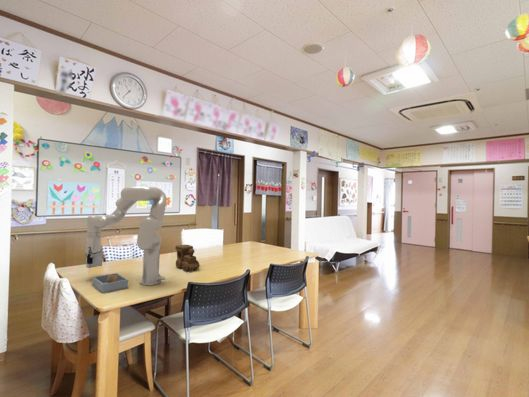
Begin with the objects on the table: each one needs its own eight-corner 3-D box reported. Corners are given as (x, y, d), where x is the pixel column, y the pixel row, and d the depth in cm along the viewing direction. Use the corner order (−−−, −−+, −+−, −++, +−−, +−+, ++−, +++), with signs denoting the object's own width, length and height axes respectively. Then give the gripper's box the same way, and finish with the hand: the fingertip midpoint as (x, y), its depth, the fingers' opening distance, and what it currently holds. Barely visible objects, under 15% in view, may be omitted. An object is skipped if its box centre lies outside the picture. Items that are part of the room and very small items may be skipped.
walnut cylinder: (118, 285, 163) (118, 274, 163) (116, 288, 158) (116, 276, 158) (109, 286, 162) (109, 274, 162) (106, 289, 157) (106, 277, 157)
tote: (92, 285, 164) (92, 277, 164) (116, 280, 174) (116, 272, 174) (102, 293, 152) (102, 284, 152) (127, 288, 162) (128, 279, 162)
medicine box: (99, 264, 181) (99, 251, 180) (102, 265, 178) (102, 252, 178) (85, 267, 174) (85, 253, 174) (88, 268, 172) (88, 254, 172)
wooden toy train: (173, 267, 212) (174, 245, 211) (186, 264, 220) (187, 244, 220) (187, 273, 198) (188, 249, 198) (200, 270, 206) (201, 248, 206)
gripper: (95, 233, 184) (95, 258, 185) (79, 237, 167) (79, 265, 167) (107, 233, 185) (107, 258, 185) (92, 237, 167) (92, 265, 168)
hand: (94, 262), depth 176 cm, fingers closed on medicine box, 8 cm apart
